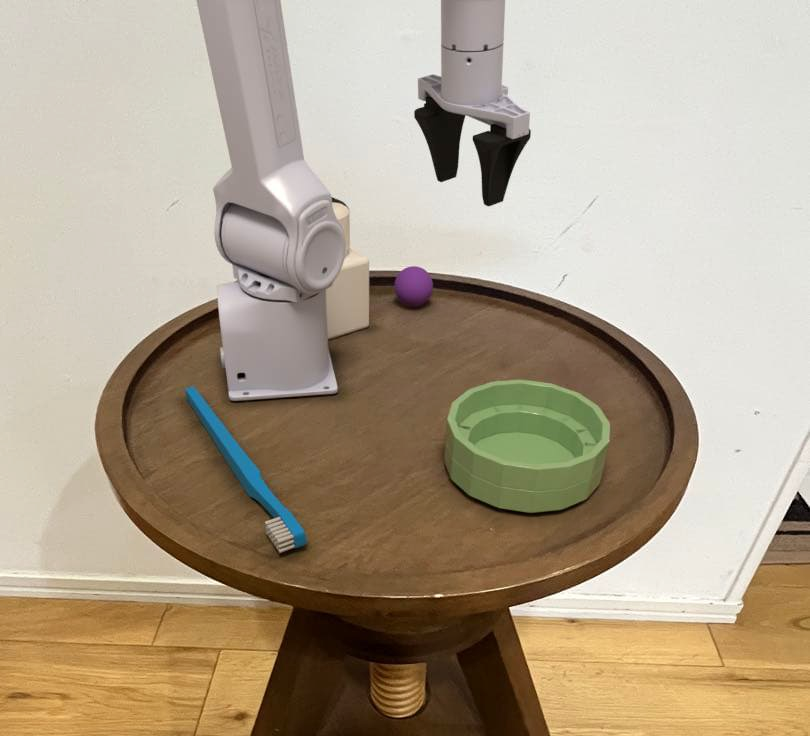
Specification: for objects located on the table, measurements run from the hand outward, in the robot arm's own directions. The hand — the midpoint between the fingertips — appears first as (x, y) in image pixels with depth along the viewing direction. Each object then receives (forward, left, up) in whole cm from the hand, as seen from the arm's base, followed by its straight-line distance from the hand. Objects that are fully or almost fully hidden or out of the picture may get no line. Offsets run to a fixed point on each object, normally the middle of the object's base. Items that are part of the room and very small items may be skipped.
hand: (469, 190), depth 87 cm
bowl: (-4, -35, -10) cm, 36 cm away
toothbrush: (-25, -31, -9) cm, 41 cm away
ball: (-7, -5, -8) cm, 11 cm away
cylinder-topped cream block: (-17, -8, -10) cm, 21 cm away
